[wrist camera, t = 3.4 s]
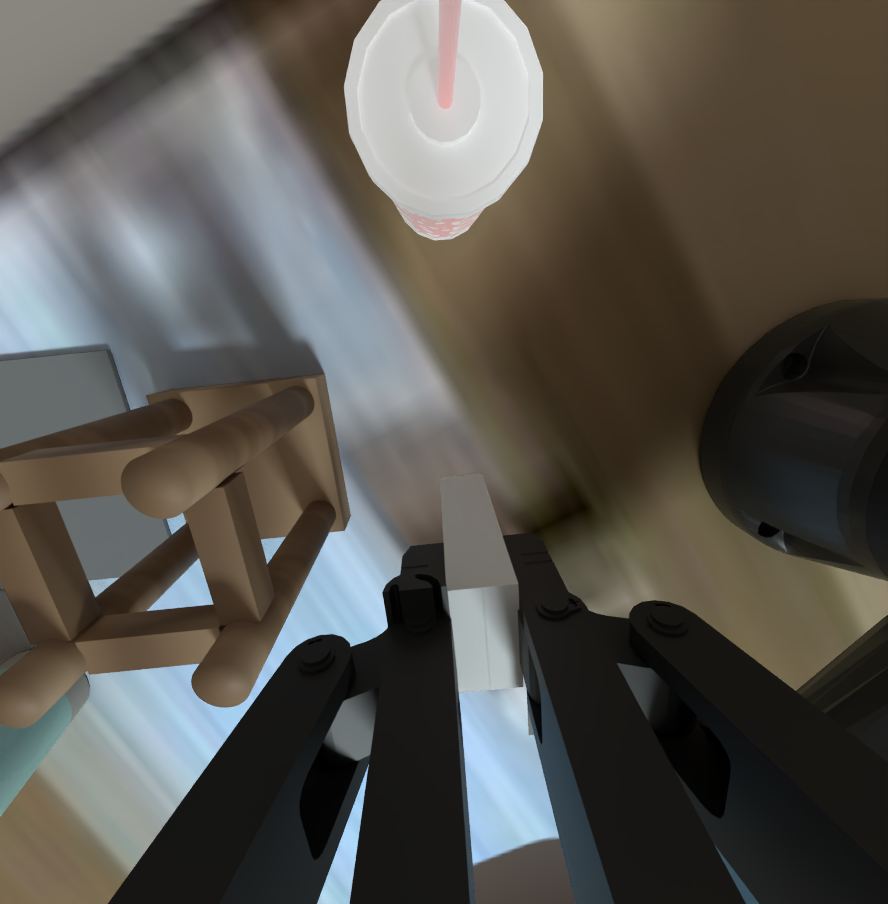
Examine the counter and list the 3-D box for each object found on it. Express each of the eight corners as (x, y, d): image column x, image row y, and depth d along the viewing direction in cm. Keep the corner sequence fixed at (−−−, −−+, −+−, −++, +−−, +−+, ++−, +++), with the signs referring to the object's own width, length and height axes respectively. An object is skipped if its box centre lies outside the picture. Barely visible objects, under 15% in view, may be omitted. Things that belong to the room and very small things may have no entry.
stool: (324, 373, 24) (188, 439, 11) (350, 515, 27) (268, 710, 13) (169, 389, 24) (-161, 475, 11) (210, 529, 27) (-12, 738, 13)
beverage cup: (400, 270, 22) (351, 196, 9) (363, 140, 21) (235, -193, 7) (511, 238, 22) (631, 110, 9) (484, 102, 20) (583, -320, 7)
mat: (110, 349, 23) (106, 350, 23) (182, 568, 27) (179, 571, 27) (-140, 375, 23) (-147, 376, 23) (-30, 589, 27) (-35, 592, 27)
